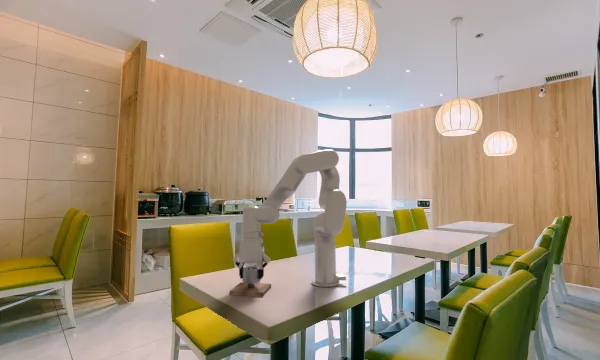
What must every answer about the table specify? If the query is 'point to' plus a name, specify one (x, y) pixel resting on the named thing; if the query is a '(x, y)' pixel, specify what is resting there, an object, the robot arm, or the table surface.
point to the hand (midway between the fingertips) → (251, 277)
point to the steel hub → (250, 274)
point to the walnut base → (250, 289)
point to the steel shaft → (251, 285)
